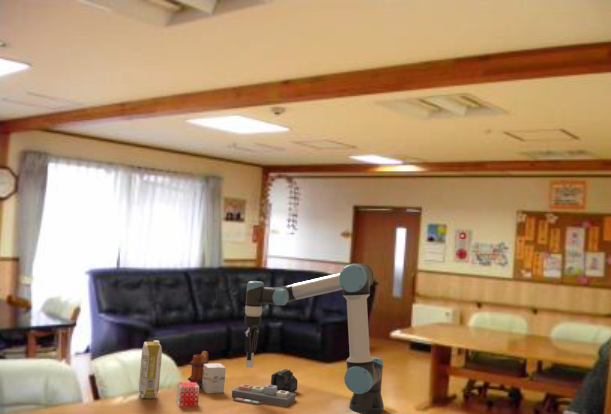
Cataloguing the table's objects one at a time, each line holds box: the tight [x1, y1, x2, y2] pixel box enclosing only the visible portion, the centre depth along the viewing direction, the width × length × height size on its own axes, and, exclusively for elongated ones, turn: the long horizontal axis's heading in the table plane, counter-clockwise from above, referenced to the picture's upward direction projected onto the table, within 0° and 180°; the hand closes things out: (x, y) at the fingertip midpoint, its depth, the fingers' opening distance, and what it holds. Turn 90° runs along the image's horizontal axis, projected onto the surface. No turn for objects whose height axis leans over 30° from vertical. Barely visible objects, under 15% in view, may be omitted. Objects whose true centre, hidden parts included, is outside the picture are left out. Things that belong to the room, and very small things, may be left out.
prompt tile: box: [233, 398, 262, 406], centre depth 265 cm, size 12×3×1 cm, turn 72°
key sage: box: [251, 385, 264, 393], centre depth 273 cm, size 5×5×4 cm
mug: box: [187, 350, 209, 388], centre depth 288 cm, size 15×8×15 cm, turn 168°
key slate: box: [263, 384, 278, 395], centre depth 271 cm, size 5×5×4 cm
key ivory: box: [276, 389, 289, 397], centre depth 269 cm, size 5×5×4 cm
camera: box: [270, 368, 298, 393], centre depth 290 cm, size 13×10×10 cm
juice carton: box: [138, 340, 163, 399], centre depth 262 cm, size 9×8×24 cm
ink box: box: [201, 362, 226, 394], centre depth 279 cm, size 9×8×12 cm
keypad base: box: [231, 385, 296, 408], centre depth 272 cm, size 26×12×3 cm, turn 72°
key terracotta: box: [238, 383, 253, 391], centre depth 275 cm, size 5×5×4 cm
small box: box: [175, 381, 200, 407], centre depth 256 cm, size 8×8×8 cm
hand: (249, 367), depth 275 cm, fingers closed
